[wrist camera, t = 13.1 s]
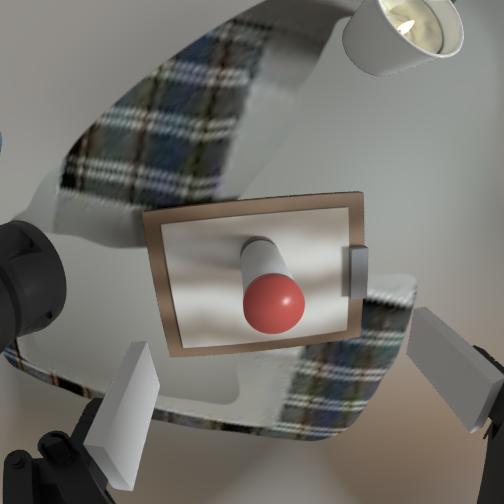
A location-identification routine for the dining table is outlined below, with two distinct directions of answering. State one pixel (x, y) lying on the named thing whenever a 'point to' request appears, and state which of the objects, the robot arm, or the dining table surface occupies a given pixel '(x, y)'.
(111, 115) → the dining table surface
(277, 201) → the clipboard
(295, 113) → the dining table surface
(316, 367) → the dining table surface
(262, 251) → the marker
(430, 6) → the candle holder
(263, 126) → the dining table surface
